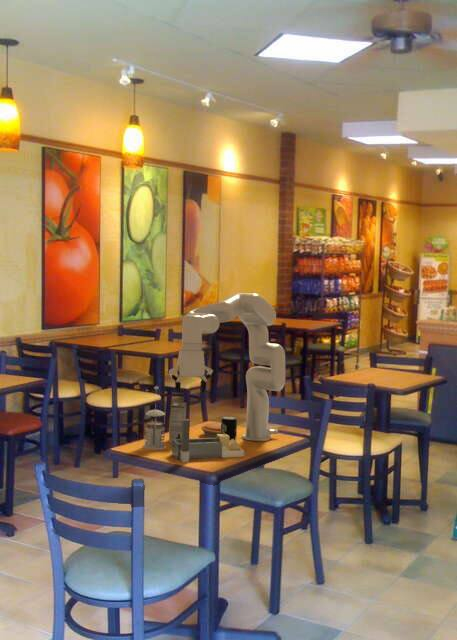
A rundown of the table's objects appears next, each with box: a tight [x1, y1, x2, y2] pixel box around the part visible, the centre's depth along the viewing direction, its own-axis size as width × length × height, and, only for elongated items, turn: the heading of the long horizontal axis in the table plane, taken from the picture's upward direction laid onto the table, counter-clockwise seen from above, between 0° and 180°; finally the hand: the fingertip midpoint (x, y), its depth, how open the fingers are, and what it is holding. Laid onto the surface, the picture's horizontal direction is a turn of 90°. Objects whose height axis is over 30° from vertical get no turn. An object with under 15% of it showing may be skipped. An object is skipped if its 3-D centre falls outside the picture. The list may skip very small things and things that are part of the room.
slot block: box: [171, 437, 222, 460], centre depth 302 cm, size 18×8×6 cm, turn 109°
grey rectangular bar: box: [179, 418, 191, 463], centre depth 294 cm, size 2×4×16 cm, turn 19°
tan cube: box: [216, 434, 230, 446], centre depth 305 cm, size 4×4×4 cm
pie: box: [200, 422, 221, 438], centre depth 340 cm, size 16×16×5 cm
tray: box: [221, 446, 245, 459], centre depth 307 cm, size 9×11×2 cm
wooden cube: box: [226, 439, 242, 451], centre depth 307 cm, size 4×4×4 cm
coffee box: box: [168, 401, 188, 445], centre depth 325 cm, size 9×6×16 cm
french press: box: [142, 385, 167, 451], centre depth 313 cm, size 10×12×25 cm
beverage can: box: [220, 415, 238, 441], centre depth 321 cm, size 7×7×12 cm
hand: (190, 391), depth 294 cm, fingers open, 9 cm apart
